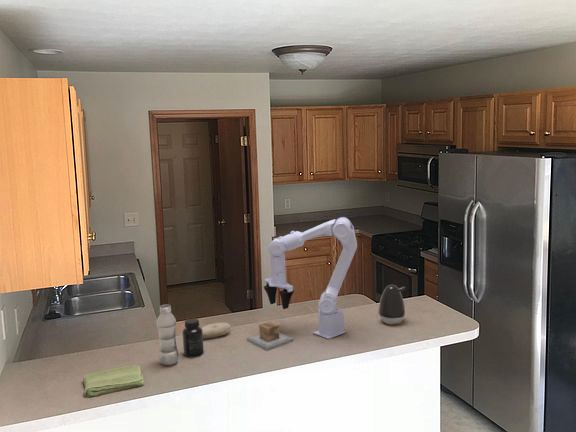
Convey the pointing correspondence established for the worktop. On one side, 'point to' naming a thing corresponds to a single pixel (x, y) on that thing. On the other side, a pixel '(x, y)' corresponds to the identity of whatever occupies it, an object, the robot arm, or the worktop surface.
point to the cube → (269, 331)
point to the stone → (215, 330)
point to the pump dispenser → (392, 305)
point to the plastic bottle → (167, 336)
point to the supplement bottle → (192, 338)
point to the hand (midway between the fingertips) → (279, 305)
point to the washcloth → (112, 380)
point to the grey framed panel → (272, 344)
